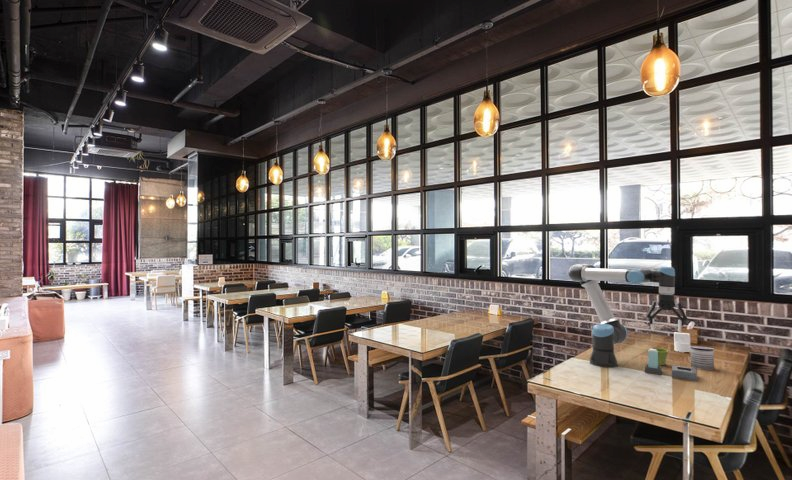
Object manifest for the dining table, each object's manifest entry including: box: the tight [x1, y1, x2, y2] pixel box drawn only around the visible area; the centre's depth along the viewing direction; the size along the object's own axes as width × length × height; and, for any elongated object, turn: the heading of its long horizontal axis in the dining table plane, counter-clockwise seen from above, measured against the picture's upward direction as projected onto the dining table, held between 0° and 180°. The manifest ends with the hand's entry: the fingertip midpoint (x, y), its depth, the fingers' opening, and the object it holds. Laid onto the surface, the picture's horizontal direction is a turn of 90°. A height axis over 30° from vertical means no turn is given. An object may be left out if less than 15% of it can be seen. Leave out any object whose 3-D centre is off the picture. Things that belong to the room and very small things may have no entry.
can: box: [689, 345, 715, 371], centre depth 240 cm, size 11×11×12 cm
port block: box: [671, 365, 698, 382], centre depth 223 cm, size 11×11×4 cm
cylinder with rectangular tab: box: [673, 331, 691, 353], centre depth 276 cm, size 9×9×12 cm
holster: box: [644, 363, 663, 376], centre depth 231 cm, size 8×8×3 cm
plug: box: [647, 348, 659, 369], centre depth 231 cm, size 4×4×13 cm
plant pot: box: [650, 347, 669, 366], centre depth 246 cm, size 9×9×9 cm
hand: (666, 330), depth 232 cm, fingers open, 13 cm apart
